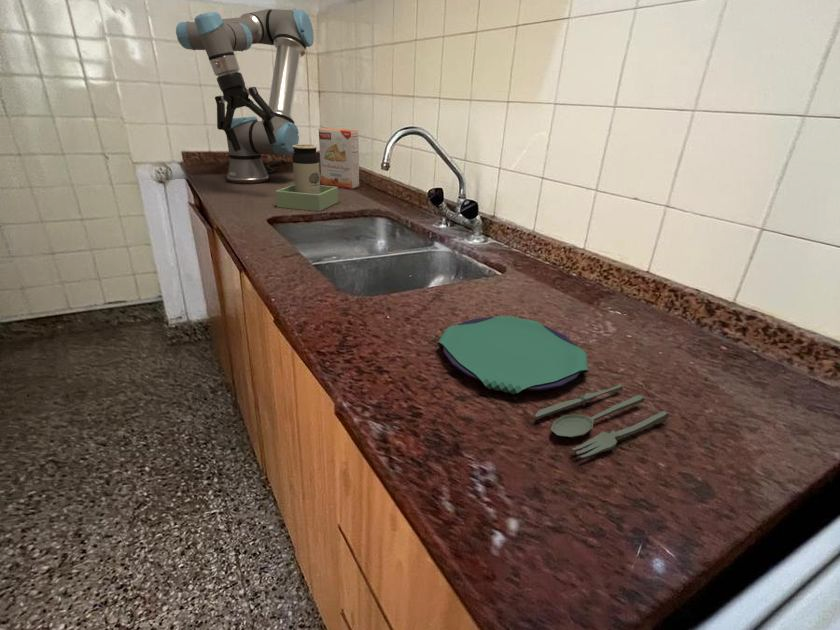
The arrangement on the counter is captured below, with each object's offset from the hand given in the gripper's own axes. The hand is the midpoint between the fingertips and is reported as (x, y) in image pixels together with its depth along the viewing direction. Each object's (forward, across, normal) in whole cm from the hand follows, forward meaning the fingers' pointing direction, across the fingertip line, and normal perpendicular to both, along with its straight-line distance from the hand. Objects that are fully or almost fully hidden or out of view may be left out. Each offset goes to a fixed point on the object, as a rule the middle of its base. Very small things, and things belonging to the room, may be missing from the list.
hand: (255, 147), depth 145 cm
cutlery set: (+28, +87, -87) cm, 126 cm away
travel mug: (+20, +15, -5) cm, 25 cm away
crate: (+20, +15, -5) cm, 25 cm away
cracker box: (+23, +12, +28) cm, 38 cm away
